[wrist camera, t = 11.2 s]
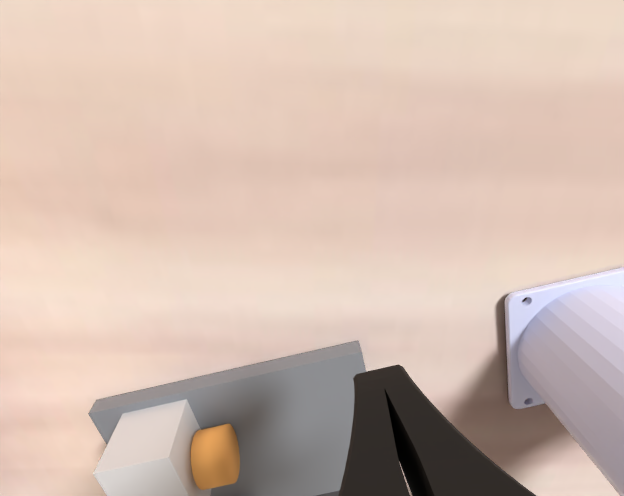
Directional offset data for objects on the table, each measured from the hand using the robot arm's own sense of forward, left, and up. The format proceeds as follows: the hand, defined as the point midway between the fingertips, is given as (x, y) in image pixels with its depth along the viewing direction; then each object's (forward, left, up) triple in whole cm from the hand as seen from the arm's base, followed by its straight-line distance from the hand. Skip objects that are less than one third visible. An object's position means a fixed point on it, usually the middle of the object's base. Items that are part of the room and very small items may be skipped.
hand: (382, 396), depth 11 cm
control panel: (+8, +16, -9) cm, 20 cm away
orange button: (+8, +8, -8) cm, 14 cm away
